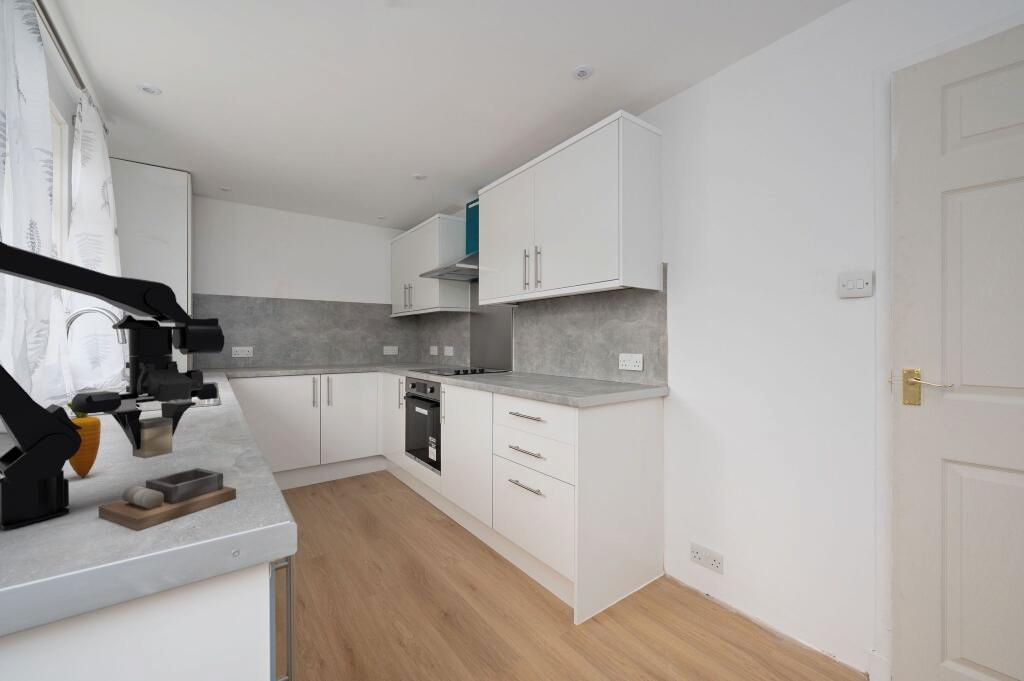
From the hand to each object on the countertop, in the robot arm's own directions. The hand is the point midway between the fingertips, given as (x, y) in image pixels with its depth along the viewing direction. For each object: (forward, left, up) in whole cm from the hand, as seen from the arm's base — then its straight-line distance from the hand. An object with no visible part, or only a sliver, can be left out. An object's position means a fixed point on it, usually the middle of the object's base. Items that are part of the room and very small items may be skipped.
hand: (152, 446), depth 74 cm
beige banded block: (0, 0, -1) cm, 1 cm away
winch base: (-3, -12, -7) cm, 14 cm away
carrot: (-2, +20, -8) cm, 21 cm away
